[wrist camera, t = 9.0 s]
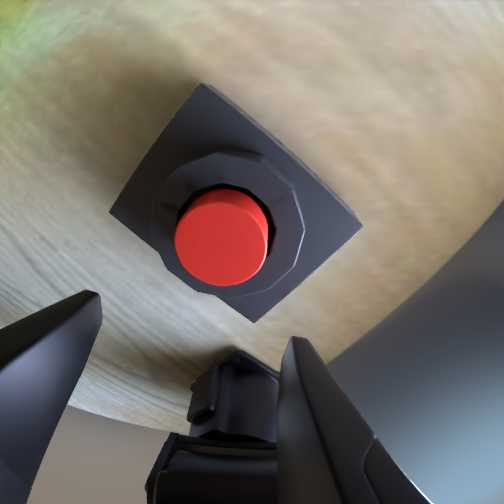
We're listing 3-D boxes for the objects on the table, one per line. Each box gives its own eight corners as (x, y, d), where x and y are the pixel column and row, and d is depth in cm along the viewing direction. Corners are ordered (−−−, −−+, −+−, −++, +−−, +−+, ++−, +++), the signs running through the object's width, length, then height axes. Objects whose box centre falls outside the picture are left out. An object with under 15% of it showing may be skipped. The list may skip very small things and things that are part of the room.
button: (285, 226, 13) (287, 244, 12) (231, 279, 15) (226, 301, 13) (219, 170, 12) (211, 181, 11) (169, 231, 14) (156, 249, 12)
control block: (353, 211, 16) (373, 243, 13) (256, 301, 19) (252, 345, 16) (210, 85, 14) (190, 79, 10) (125, 199, 17) (91, 225, 13)
